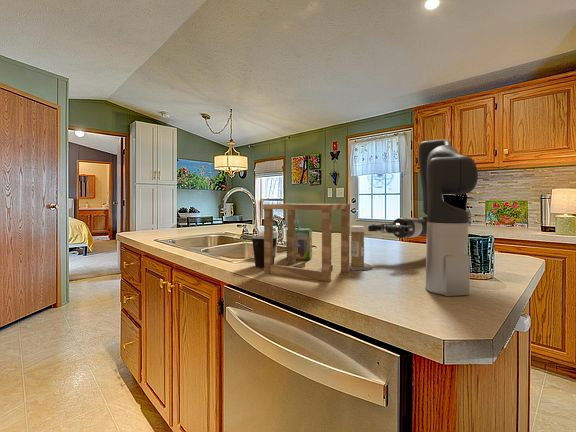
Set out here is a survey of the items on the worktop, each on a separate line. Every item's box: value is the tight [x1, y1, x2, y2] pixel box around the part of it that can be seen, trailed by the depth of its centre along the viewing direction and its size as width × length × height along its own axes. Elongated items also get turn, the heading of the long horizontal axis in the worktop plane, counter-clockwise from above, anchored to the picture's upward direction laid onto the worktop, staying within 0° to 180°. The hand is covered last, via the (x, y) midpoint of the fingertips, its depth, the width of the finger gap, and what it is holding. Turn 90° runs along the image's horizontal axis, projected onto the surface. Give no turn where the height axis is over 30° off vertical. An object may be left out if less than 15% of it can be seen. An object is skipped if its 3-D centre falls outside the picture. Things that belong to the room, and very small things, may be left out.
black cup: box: [257, 230, 279, 257], centre depth 129 cm, size 8×8×10 cm
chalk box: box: [285, 220, 313, 261], centre depth 125 cm, size 9×9×15 cm
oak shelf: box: [262, 203, 351, 283], centre depth 100 cm, size 17×22×22 cm
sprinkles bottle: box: [350, 225, 366, 267], centre depth 107 cm, size 5×5×13 cm
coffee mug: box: [251, 235, 278, 269], centre depth 109 cm, size 12×9×10 cm
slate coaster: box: [349, 262, 373, 272], centre depth 108 cm, size 10×10×1 cm
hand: (378, 229), depth 112 cm, fingers open, 8 cm apart
